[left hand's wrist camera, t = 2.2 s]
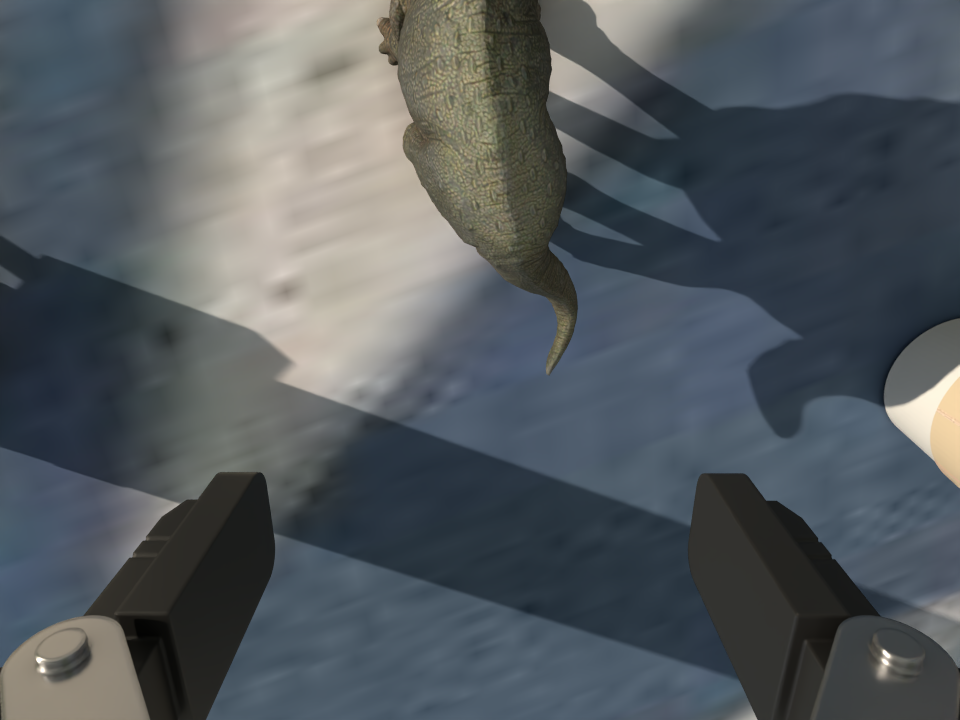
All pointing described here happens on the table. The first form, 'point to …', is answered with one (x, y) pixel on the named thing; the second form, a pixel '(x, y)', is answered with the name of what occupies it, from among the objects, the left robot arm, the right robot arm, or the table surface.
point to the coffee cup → (929, 395)
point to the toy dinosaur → (487, 135)
